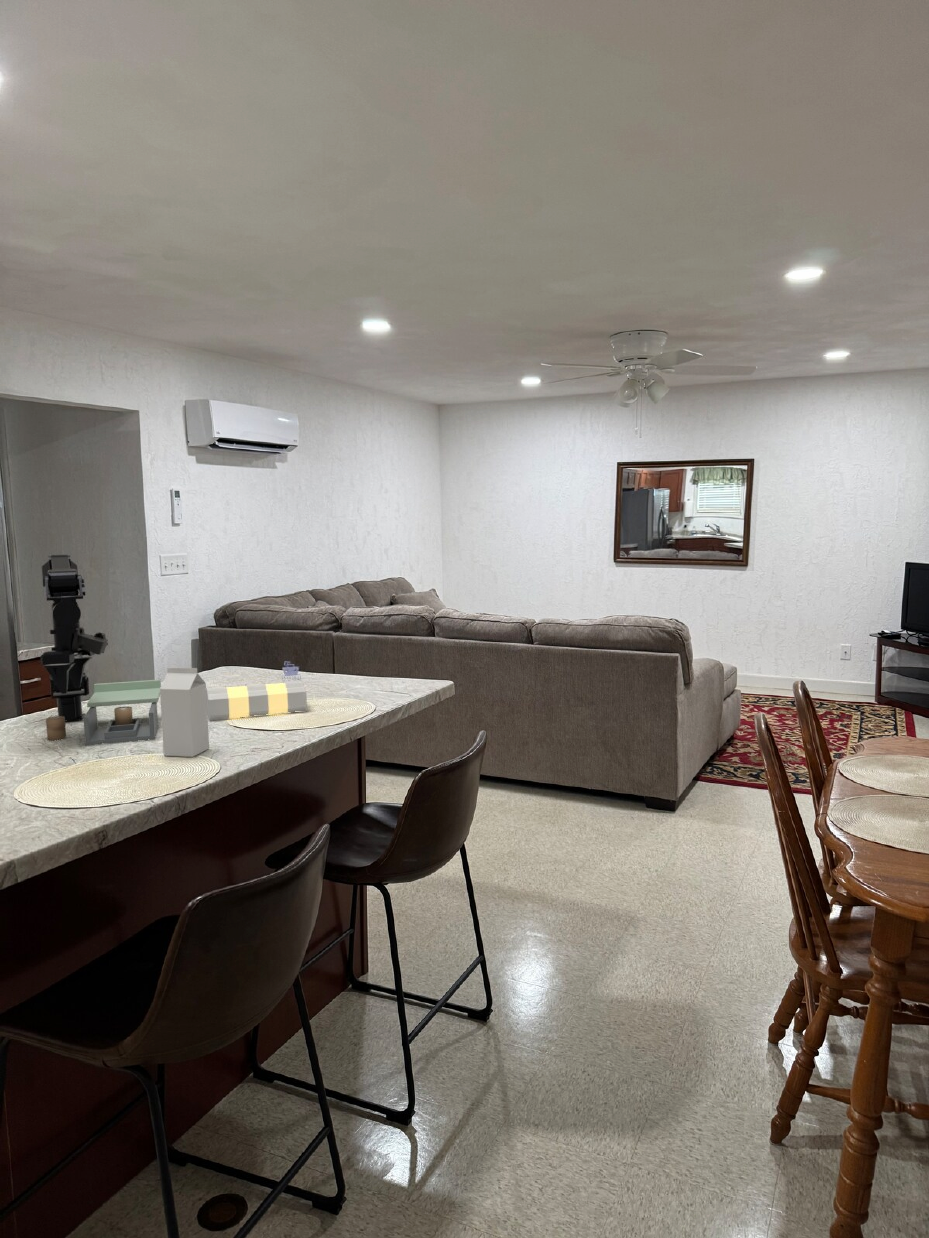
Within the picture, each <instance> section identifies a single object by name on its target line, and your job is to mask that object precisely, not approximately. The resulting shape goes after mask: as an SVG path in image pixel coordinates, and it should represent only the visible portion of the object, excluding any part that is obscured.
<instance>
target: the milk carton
mask: <svg viewBox="0 0 929 1238" xmlns="http://www.w3.org/2000/svg"><path fill="white" fill-rule="evenodd" d="M166 669H167V670H166V671H167V673H166V675H165V677H164V679H163V681H162V682H161V687H160V697H159V699H160V714H161V730H162V731H161V732H162V745H163V746H162V747H163V749H162V750H163V756H165V757H184V758H185V757H186V758H187V757H189V758H193V757H195V756H197V755H199V754H201V753H203V752H204V751H207V750H209V749H210V735H209V718H208V714H207V695H206V688H207V683H206V681H204V679H203V678H202V677H201V675H200V674H199V673H198V668H197V667H167V668H166Z"/></svg>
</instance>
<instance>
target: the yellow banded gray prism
mask: <svg viewBox="0 0 929 1238" xmlns="http://www.w3.org/2000/svg"><path fill="white" fill-rule="evenodd" d="M283 665H284V666H285V667H282V671H283V673H284V676H283V677H281V680H283V681H282V682H280V683H269V684H266V683H264V682H262V683H251V684H250V683H249V684H245V685H242V686H232V687H231V686H230V687H227V686H213V687H206V695H207V714H208V722H212V721H222V720H233V719H241V718H240V717H245V718H247V717H246V716H254V715H266V714H274V713H281V712H295V711H306V712H307V707H308V704H307V703H308V701H307V689H306V686H305V682H304V681H303V680H301V674H298V673H299V670H300V666H295V664H294V663H293V664H292V663H291V661H287V660H285V661H284V663H283ZM296 676H297V678H296ZM286 677H288V679H287V680H286ZM291 679H292V680H291ZM266 716H267V715H266Z"/></svg>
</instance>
